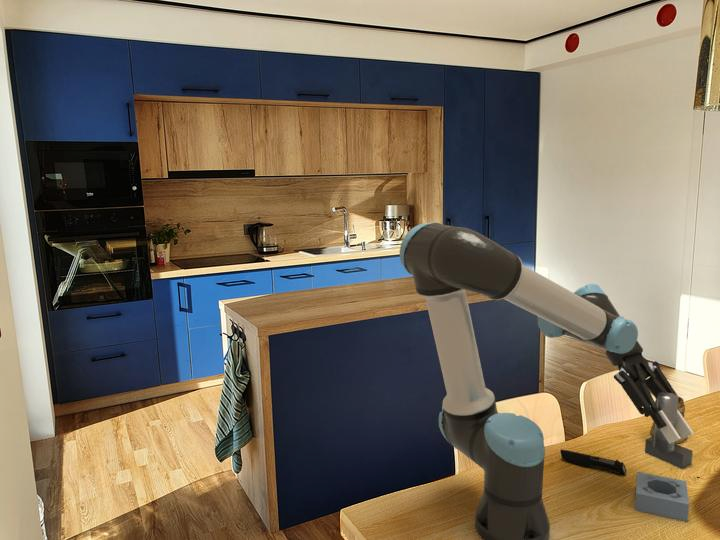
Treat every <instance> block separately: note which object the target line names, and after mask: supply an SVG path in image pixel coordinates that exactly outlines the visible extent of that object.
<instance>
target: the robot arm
mask: <svg viewBox="0 0 720 540" xmlns="http://www.w3.org/2000/svg"><path fill="white" fill-rule="evenodd" d="M399 260H400V263H401V265H402V266H403V268H404V270H405V271H406V272H407V273H408V274H409V275H412V278H413V283H414V287H415V291H416V294H417V295H418V296H420V297H422V299H425V302H426V307H427V311H428V315H429V320H430V324H431V328H432V333H433V338H434V341H435V346H436V347H435V348H436V351H437V355H438V359H439V365H440V370H441V373H442V377H443V383H444V386H445V390H446V391H445V392H446V395H445V397H444V398H443V400H442V406H441V411H439V415H438V428H439V429H440V433H441V434H442V436H443V437H444V439H445V440H446V441H447V443H449V444H450V445H451V446H452V447H453V448H454V449H456V450H458V451H459V452H460V453H462V454H463V455H464V456H466V457H467V458H468V459H469V460H471V461H472V462H474V463H475V464H476V465H478V466H479V467H480V468H481V469H482V470H483V476H484V477H483V493H482V495H481V497H480V501H479V503H478V505H477V508H476V511H475V515H474V529H475V531H476V533H477V534H478V536H479V538H481V539H482V540H550V533H551V524H550V521H549V520H550V519H549V516H548V513H547V510H546V508H545V504H544V500H543V485H544V483H543V482H544V467H545V455H546V454H545V452H546V449H545V439H544V438H545V437H544V434H543V430H542V429H541V427H540V426H539V425H538V424H537V423H536V422H535V421H533V420H532V419H530V418H529V417H526V416H524V415H520V414H519V415H516V413H511V412H499V411H498V409H497V403H496V397H495V394H494V392H493V391H492V390H490V389H489V388H488V387H486V383H485V379H484V374H483V370H482V364H481V360H480V356H479V355H480V354H479V350H478V345H477V341H476V340H477V339H476V336H475V330H474V326H473V321H472V315H471V310H470V306H469V301H468V296H467V291H469V292H474V293H476V294H480V295H483V296H485V297H487V298H489V299H491V300H494V301H501V300H505V301H506V302H509V303H511V304H513V305H515V306H516V307H518V308H521V309H523V310H525V311H527V312H528V313H531V314H533V315H535V316H537V325H538V329H540V332H541V333H542V334H543V335H544V336H545V337H547V338H551V339H552V338H560V337H563V336H566V337H568V338H571V339H575V340H578V341H580V342H584V343H586V344H587V343H588V345H589V344H590V345H593V346H595V347H597V348H601V349H602V350H603V351H605V356H606V357H607V358H608V360H609V361H610V363H611V365H612V366H615V367H617V368H618V372H617V373H616V374H614V375H613V379H614V380H615V381H616V382H617V383H618V384H619V385H620V386H621V387H622V389H623V390H624V392H625V393H626V395H627V396H628V398H629V399H630V401H631V402H632V404H633V406H634V407H635V408H636V410H637V411H638V413H639V414H640V415H644V416H645V418H648V417H650V418H651V420H652V422H655V424H656V426H657V427H658V428H659V429H660V430H661V432H662V433H663V435H664V436H665V438H666V439H667V441H668V442H669V444H671V443H673V442H675V441H677V440H679V439H681V437H682V439H683V438H686V437H687V438H688V437H690V436H691V435H694V434H695V432H694V431H693V430H692V428H691V426H690V425H689V424H688V422H687V420H686V419H685V415H684V416H683V415H682V414H681V412H680V411H679V409H677V420H676V430H677V431H678V433H679V434H680V436H681V437H680V436H679V434H678V433H677V431H676V430H675V428H674V427H673V425H672V424H671V422H670V421H669V419H668V418H667V416H666V415H665V413H664V412H663V410H661V411H659V412H658V407H657V405H656V403H655V401H656V400H654V398H655V397H656V398H657V397H658V393H660V392H668V393H672V394H675V395H677V396H678V394H677V392H676V390H675V389H674V388H673V386H672V385H671V383H670V381H669V380H668V379H667V377H666V376H665V374H664V372H663V371H662V368H661V367H660V363H659V362H658V361H656V360H655V361H654V362H649V361H648V360H647V359H646V357H644V356H643V354H642V353H643V351H644V348H643V347H642V345H641V344H640V343H639V341H638V337H639V331H638V327H637V325H636V323H634V321H632V320H630V319H627V318H625V317H623V316H621V315H620V314H619V311H617V309H616V308H615V306H614V305H613V303H612V302H611V300H610V298H609V296H608V295H607V294H606V293H605V292H604V290H603V289H602V288H601V287H600V286H599V284H596V283H588V284H586V285H584V286H581V287H580V288H578V289H576V290H575V291H574V292H572V291H570V290H569V289H568V288H565V287H564V286H561V285H560V284H558V283H556V282H555V281H553V280H551V279H549V278H548V277H546V276H543V275H542V274H540V273H538V272H537V271H535V270H533V269H532V268H529V267H527V266H526V265H524V264H523V261H522V259H521V258H520V256H519V255H517V254H515V253H513V252H511V251H510V250H508V249H507V248H505V247H503V246H501V245H500V244H498V243H497V242H495V241H493V240H492V239H490V238H488V237H486V236H485V235H483V234H481V233H480V232H477V231H475V230H473V229H470V228H467V227H462V226H461V227H460V226H455V225H454V226H453V225H447V224H442V223H440V222H426V223H419V224H417V225H416V226H414V227H412V228H411V229H410V230H408V232H407V233H406V234H405V236H404V237H403V240H402V241H401V243H400V247H399ZM648 388H649V389H650V391H651V392H652V393H653V394H654V395H655V397H654V396H653V395H652V394H651V393H650V391H649V389H648ZM656 398H655V399H656ZM679 400H680V399H678V404H679Z"/></svg>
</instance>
